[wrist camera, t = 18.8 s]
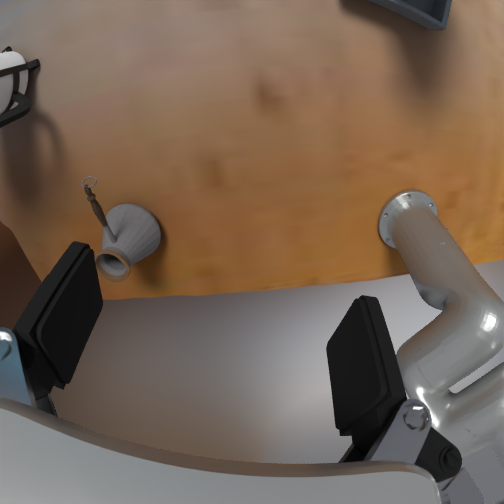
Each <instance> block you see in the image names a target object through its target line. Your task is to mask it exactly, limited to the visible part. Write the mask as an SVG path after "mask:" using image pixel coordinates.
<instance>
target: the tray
mask: <svg viewBox="0 0 504 504" xmlns="http://www.w3.org/2000/svg"><path fill="white" fill-rule="evenodd" d="M367 1H370V2H372V3H375V4H377V5H379V6H382V7H384V8H386V9H388V10H391V11H393V12H395V13H397V14H399V15H401V16H403V17H405V18H407V19H409V20H411V21H413V22H415V23H417V24H419V25H421V26H423V27H425V28H426V29H428V30H445V29H446V24H447V20H448V15H449V11H450V6H451V1H452V0H367Z"/></svg>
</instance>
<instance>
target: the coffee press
mask: <svg viewBox="0 0 504 504" xmlns="http://www.w3.org/2000/svg"><path fill="white" fill-rule="evenodd" d="M5 50H6V51H7V52H4V51H5ZM3 52H4V53H3ZM38 66H39V62H38V59H36V60H33V61H31V62H28V63H26V62H25V60H24V58H23V57H22V56H21V55H20V54H19V53H17V52H13V51H12V49H11V47H9V46H8V47H7V48H6V49H4V50H3V51H2V53H0V128H1V127H3V126H5V125H7V124H9V123H11V122H13V121H15V120H17V119H19V118H21V117H23V116H24V115H26V114H27V113H28V112H29V110H30V107H31V100H30V99H29V98H28V97H26V96H25V95H24V94H25V91H26V88H27V83H28V71H30V70H32V69H34V68H36V67H38ZM16 106H18V107H17V108H15V107H16ZM13 108H14V109H13Z"/></svg>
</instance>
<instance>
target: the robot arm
mask: <svg viewBox="0 0 504 504" xmlns="http://www.w3.org/2000/svg"><path fill="white" fill-rule="evenodd" d="M378 230H379V233H380V235H381V237H382V239H383V241H384V242H385V243H386V244H387V245H389V246H390V247H392V248H395V249H397V250H398V252H399V254H400V256H401V258H402V260H403V262H404V264H405V266H406V267H407V269H408V271H409V273H410V275H411V277H412V279H413V282H414V284H415V286H416V288H417V290H418V292H419V294H420V296H421V297H422V299H423V300H424V301H425V302H426V303H427V304H428V305H430V306H432V307H434V308H436V309H439V310H442V312H441V314H439V315H438V316H437V317H436V318H435V319H434V320H433V321H432V322H430V323H429V324H428V325H426V326H425V327H424V328H423V329H421V330H420V331H419V332H417V333H416V334H415V335H414V336H412V337H411V338H410V339H409V340H407V341H406V342H405V343H404V344H403V345H402V346H401V347H400V348H399V350H398V351H397V354H396V355H395V351H394V348H393V344H392V341H391V338H390V335H389V331H388V328H387V325H386V322H385V319H384V316H383V313H382V310H381V307H380V304H379V301H378V299H377V298H376V297H370V296H364V295H362V296H360V297H359V299H355V300H354V302H353V303H352V305H351V307H350V308H349V310H348V311H347V313H346V315H345V316H344V318H343V320H342V321H341V323H340V324H339V326H338V327H337V329H336V331H335V332H334V334H333V335H332V337H331V338H330V340H329V341H328V344H327V348H326V351H327V358H328V366H329V374H330V381H331V389H332V398H333V407H334V417H335V425H336V428H337V429H339V431H340V436H352V444H351V446H350V447H349V448H348V450H347V451H346V453H345V454H344V456H343V457H342V458H341V459H340V461H339V462H338V463H327V464H325V463H324V464H323V463H322V464H277V463H256V462H243V461H233V460H224V459H216V458H208V457H202V456H195V455H190V454H184V453H178V452H173V451H168V450H163V449H159V448H155V447H150V446H146V445H142V444H138V443H134V442H131V441H127V440H123V439H120V438H117V437H113V436H110V435H107V434H104V433H100V432H97V431H95V430H92V429H89V428H86V427H83V426H80V425H77V424H74V423H72V422H69V421H67V420H64V419H61V418H59V417H58V414H57V411H56V409H55V406H54V403H53V400H52V397H51V394H50V393H51V390H52V387H53V386H56V387H58V388H61V389H64V387H65V385H66V383H67V384H69V383H70V381H71V379H72V377H73V374H74V372H75V369H76V367H77V364H78V362H79V359H80V357H81V354H82V352H83V350H84V348H85V345H86V343H87V341H88V338H89V336H90V334H91V332H92V329H93V327H94V325H95V323H96V321H97V319H98V316H99V314H100V312H101V310H102V306H103V300H102V295H101V290H100V285H99V280H98V274H97V268H96V262H95V256H94V251H93V250H92V249H90V246H89V244H85V243H80V242H76V241H74V242H73V243H72V244H71V245H70V246H69V247H68V249H67V250H66V251H65V253H64V254H63V255H62V257H61V258H60V259H59V261H58V262H57V264H56V265H55V266H54V268H53V269H52V271H51V272H50V274H48V275H47V277H46V278H45V279H44V281H43V282H42V284H41V285H40V287H39V288H38V290H37V291H36V293H35V294H34V296H33V297H32V299H31V301H30V302H29V304H28V305H27V307H26V308H25V310H24V312H23V313H22V315H21V317H20V318H19V320H18V322H17V323H16V325H15V327H14V329H13V330H12V331H11V330H9V329H7V328H0V504H483V503H484V501H483V497H482V494H481V492H480V491H479V489H478V487H477V486H476V484H475V483H474V481H473V480H472V478H471V477H470V475H469V473H468V472H467V470H466V469H465V468H461V465H462V457H465V456H467V455H469V454H471V453H473V452H475V451H477V450H479V449H481V448H483V447H485V446H487V445H490V446H492V447H493V448H494V450H495V452H496V455H497V458H498V461H499V464H500V466H501V467H502V469H503V470H504V362H503V363H501V364H499V365H498V366H496V367H495V368H494V369H492V370H491V371H490V372H488V373H486V374H485V375H484V376H482V377H481V378H479V379H478V380H476V381H475V382H473V383H472V384H470V385H469V386H467V387H466V388H464V389H463V390H461V391H460V392H458V393H452V392H451V391H450V390H449V389H448V388H449V387H451V386H452V385H454V384H456V383H457V382H459V381H460V380H462V379H463V378H465V377H466V376H468V375H470V374H471V373H472V372H474V371H475V370H477V369H478V368H480V367H481V366H482V365H484V364H485V363H486V362H488V361H489V360H490V359H491V358H493V357H494V356H495V355H496V354H497V353H498V352H499V351H500V350H501V349H502V348H503V346H504V302H503V301H502V300H501V298H500V297H499V296H498V295H497V294H496V293H495V292H494V290H493V289H492V288H491V287H490V286H489V285H488V284H487V282H486V281H485V280H484V279H483V278H482V276H481V275H480V274H479V272H478V271H477V270H476V269H475V267H474V266H473V264H472V263H471V262H470V260H469V259H468V257H467V256H466V254H465V253H464V252H463V250H462V249H461V248H460V246H459V245H458V243H457V242H456V241H455V239H454V238H453V237H452V235H451V234H450V233H449V230H448V228H446V227H445V226H444V225H443V224H442V223H441V221H440V220H439V219H438V211H437V207H436V204H435V202H434V201H433V199H432V198H431V197H430V196H429V195H428V194H426V193H425V192H422V191H420V190H407V191H403V192H401V193H399V194H397V195H395V196H394V197H392V198H391V199H390V200H389V201H388V202H387V203H386V205H385V206H384V207H383V209H382V211H381V213H380V216H379V220H378ZM405 390H406V392H407V394H408V396H409V398H410V399H408V400H407V397H406V392H405ZM493 504H504V499H502V500H500V501H498V502H495V503H493Z"/></svg>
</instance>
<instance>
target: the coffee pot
mask: <svg viewBox="0 0 504 504" xmlns="http://www.w3.org/2000/svg"><path fill="white" fill-rule="evenodd" d="M88 178H94V179H95V180H96V182H97V179H96V178H95V177H92V176H91V177H87V178H85V179H84V180H83V181H82V184H81V185H82V186H83V182H84V181H85V180H86V179H88ZM96 182H95V183H94V184H93V185H91V186H88V185H85V186H83V187H84V190H85V193H86V194H87V195H88V197H87V200H88V201H90V202H91V205H92V209H93V211H94V213H95V215H96V216H97V218H98V219H99V221H100V222H101V224H102V225H103V226H104V228H103V243H102V250H101V251H99V252H97V253H96V254H95V262H96V268H97V271H98V273H99V274H100V275H101V276H103V277H104V278H106V279H108V280H110V281H114V282H120V281H123V280H125V279H126V278H127V277H128V275H129V273H130V270H131V268H130V266H132V265H133V264H135V263H137V262H138V261H140V260H142V259H143V258H145V257H147V256H149V255H150V254H152V253H153V252H154V251H155V250H156V249H157V248H158V246H159V244H160V240H161V232H160V228H159V224H158V222H157V220H156V218H155V217H154V216H153V215H152V214H151V212H149V211H148V210H147V209H145V208H144V207H141V206H139V205H137V204H131V203H128V204H120V205H118V206H115V207H114V208H112V209H111V210H110V211H109V212H108V214H107V215H106V217H105V215H104V213H103V211H102V208H101V206H100V205H99V203H98V202H97V201H96V199H95V197H96V196H95V194H93V193H92V192H91V189H90V187H92V186H94V185H95V184H96Z"/></svg>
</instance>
